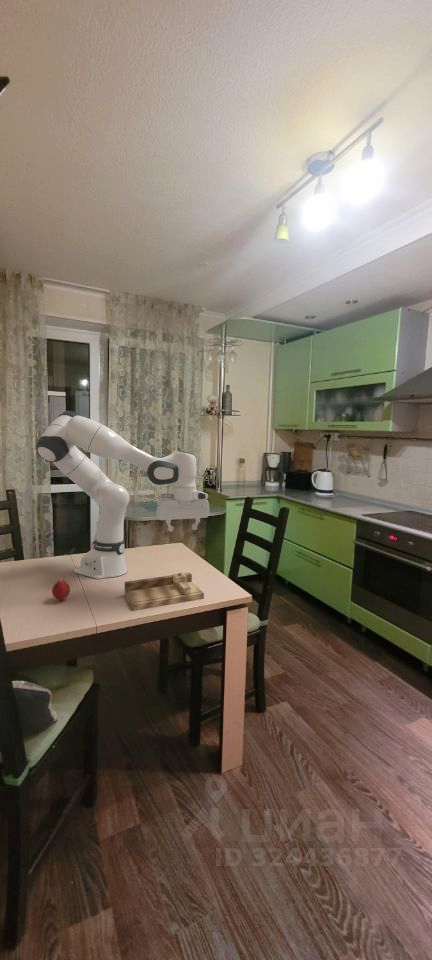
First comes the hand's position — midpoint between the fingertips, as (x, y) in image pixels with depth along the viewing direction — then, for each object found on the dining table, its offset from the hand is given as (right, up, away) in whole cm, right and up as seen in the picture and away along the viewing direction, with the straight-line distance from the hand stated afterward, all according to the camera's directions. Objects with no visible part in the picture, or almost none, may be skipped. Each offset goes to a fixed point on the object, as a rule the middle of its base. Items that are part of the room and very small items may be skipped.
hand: (182, 530), depth 144 cm
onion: (-43, -24, -9) cm, 50 cm away
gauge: (0, -22, -1) cm, 22 cm away
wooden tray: (-7, -24, -3) cm, 25 cm away
